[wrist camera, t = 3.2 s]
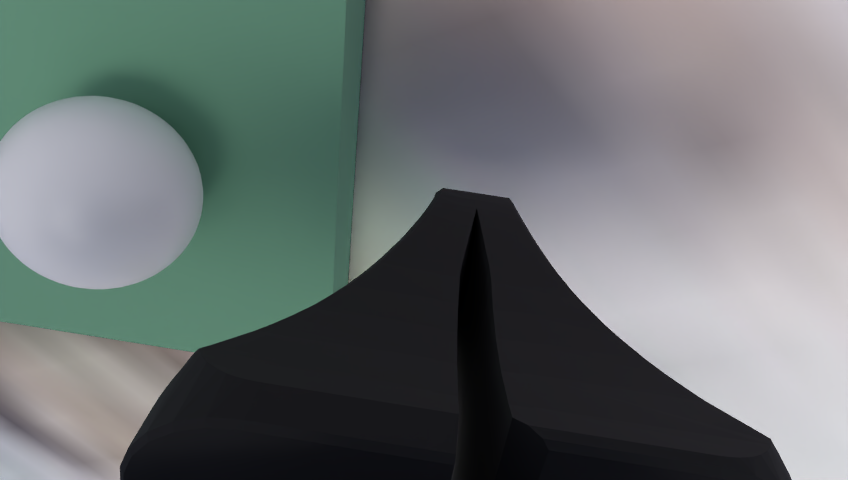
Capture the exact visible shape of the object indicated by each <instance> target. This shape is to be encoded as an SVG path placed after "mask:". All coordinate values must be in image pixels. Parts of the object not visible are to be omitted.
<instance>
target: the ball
mask: <svg viewBox="0 0 848 480" xmlns="http://www.w3.org/2000/svg"><path fill="white" fill-rule="evenodd" d="M202 206H203V186H202V179H201V174H200V171H199V167H198V164H197V162H196V160H195V158H194V156H193V154H192V152H191V150H190V149H189V147H188V145H187V144H186V143H185V141H184V140H183V138H182V137H181V136H180V135H179V134H178V133H177V132H176V130H175V129H174V128H172V127H171V126H170V125H169V124H168V123H167V122H166V121H164V120H163V119H161V118H160V117H159V116H157V115H156V114H154V113H152V112H150V111H149V110H147V109H145V108H143V107H141V106H139V105H136V104H134V103H131V102H128V101H125V100H120V99H115V98H111V97H104V96H76V97H71V98H66V99H61V100H57V101H54V102H51V103H49V104H46V105H44V106H42V107H39V108H37V109H36V110H34V111H32V112H30V113H29V114H27V115H26V116H24V117H23V118H22V119H20V120H19V121H18V122H17V123H16V124H15V125H13V126H12V127H11V129H10V130H9V131H8V132H7V133H6V134H5V136H4V137H3V138H2V140H1V141H0V238H1V240H2V241H3V243H4V244H5V245H6V247H7V248H8V249H9V250H10V252H11V253H12V254H13V255H14V256H15V257H16V258H17V259H18V260H20V261H21V262H22V263H23V264H24V265H26V266H27V267H29V268H30V269H31V270H33V271H35V272H36V273H38V274H40V275H42V276H44V277H46V278H48V279H50V280H53V281H55V282H58V283H61V284H64V285H67V286H72V287H77V288H85V289H112V288H120V287H124V286H128V285H132V284H135V283H138V282H141V281H143V280H146V279H148V278H150V277H152V276H154V275H156V274H157V273H159V272H160V271H162V270H163V269H165V268H166V267H167V266H169V265H170V264H171V263H172V262H173V261H175V260H176V259H177V258H178V257H179V255H180V254H181V253H182V252H183V251H184V250H185V248H186V247H187V246H188V244H189V242H190V241H191V239H192V237H193V235H194V234H195V232H196V229H197V226H198V224H199V221H200V217H201V213H202Z"/></svg>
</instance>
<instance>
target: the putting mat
mask: <svg viewBox="0 0 848 480" xmlns="http://www.w3.org/2000/svg"><path fill="white" fill-rule="evenodd" d="M364 16H365V0H0V141H1V140H2V138H3V137H4V136H5V134H6V133H7V132H8V131H9V130H10V129H11V127H12V126H13V125H15V124H16V123H17V122H18V121H19V120H20V119H22V118H23V117H24V116H26V115H27V114H29V113H30V112H32V111H34V110H36V109H37V108H39V107H42V106H44V105H46V104H49V103H51V102H54V101H57V100H61V99H66V98H71V97H76V96H104V97H111V98H115V99H120V100H125V101H128V102H131V103H134V104H136V105H139V106H141V107H143V108H145V109H147V110H149V111H150V112H152V113H154V114H156V115H157V116H159V117H160V118H161V119H163V120H164V121H166V122H167V123H168V124H169V125H170V126H171V127H172V128H174V129H175V130H176V132H177V133H178V134H179V135H180V136H181V137H182V138H183V140H184V141H185V143H186V144H187V145H188V147H189V149H190V150H191V152H192V154H193V156H194V158H195V160H196V162H197V164H198V167H199V171H200V174H201V179H202V186H203V206H202V213H201V217H200V221H199V224H198V226H197V229H196V232H195V234H194V235H193V237H192V239H191V241H190V242H189V244H188V246H187V247H186V248H185V250H184V251H183V252H182V253H181V254H180V255H179V257H178V258H177V259H176V260H175V261H173V262H172V263H171V264H170V265H169V266H167V267H166V268H165V269H163V270H162V271H160V272H159V273H157V274H156V275H154V276H152V277H150V278H148V279H146V280H143V281H141V282H138V283H135V284H132V285H128V286H124V287H120V288H112V289H85V288H77V287H72V286H67V285H64V284H61V283H58V282H55V281H53V280H50V279H48V278H46V277H44V276H42V275H40V274H38V273H36V272H35V271H33V270H31V269H30V268H29V267H27V266H26V265H24V264H23V263H22V262H21V261H20V260H18V259H17V258H16V257H15V256H14V255H13V254H12V253H11V252H10V250H9V249H8V248H7V247H6V245H5V244H4V243H3V241H2V240H1V238H0V321H1V322H8V323H14V324H20V325H27V326H33V327H39V328H45V329H52V330H58V331H64V332H70V333H77V334H83V335H89V336H95V337H102V338H108V339H114V340H121V341H127V342H133V343H139V344H146V345H152V346H158V347H164V348H171V349H177V350H183V351H190V352H195V351H196V350H197V349H199V348H202V347H206V346H209V345H213V344H216V343H219V342H222V341H225V340H228V339H231V338H234V337H237V336H240V335H243V334H246V333H249V332H252V331H255V330H258V329H260V328H263V327H266V326H268V325H271V324H273V323H275V322H278V321H280V320H282V319H285V318H287V317H289V316H292V315H294V314H296V313H298V312H300V311H302V310H304V309H306V308H308V307H310V306H312V305H314V304H316V303H318V302H320V301H321V300H323V299H325V298H326V297H328V296H330V295H331V294H333V293H334V292H336V291H338V290H339V289H341V288H342V287H344V286H346V285H347V284H348V274H349V258H350V242H351V226H352V209H353V193H354V177H355V161H356V145H357V129H358V113H359V97H360V81H361V65H362V48H363V32H364Z"/></svg>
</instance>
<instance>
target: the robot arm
mask: <svg viewBox="0 0 848 480" xmlns="http://www.w3.org/2000/svg"><path fill="white" fill-rule="evenodd" d="M120 480H792V479H791V477H790V475H789V473H788V471H787V469H786V467H785V465H784V463H783V461H782V459H781V457H780V455H779V453H778V452H777V450H776V448H775V446H774V444H773V443H772V441H771V439H770V438H768V437H766V436H765V435H763V434H761V433H759V432H758V431H756V430H754V429H753V428H751V427H749V426H747V425H746V424H744V423H742V422H740V421H739V420H737V419H735V418H733V417H732V416H730V415H728V414H727V413H725V412H723V411H721V410H720V409H718V408H716V407H714V406H713V405H711V404H709V403H708V402H706V401H704V400H703V399H701V398H700V397H698V396H697V395H695V394H694V393H692V392H691V391H689V390H688V389H686V388H685V387H683V386H682V385H680V384H679V383H677V382H676V381H674V380H673V379H672V378H670V377H669V376H667V375H666V374H664V373H663V372H662V371H660V370H659V369H658V368H656V367H655V366H654V365H652V364H651V363H650V362H648V361H647V360H646V359H644V358H643V357H642V356H641V355H639V354H638V353H637V352H636V351H635V350H633V349H632V348H631V347H630V346H628V345H627V344H626V343H625V342H624V341H622V340H621V339H620V338H619V337H618V336H617V335H615V334H614V333H613V332H612V331H611V330H610V329H609V328H608V327H607V326H605V325H604V324H603V323H602V322H601V321H600V320H599V319H598V318H597V317H596V316H595V315H594V314H593V313H592V312H591V311H590V310H589V309H588V308H587V307H586V306H585V305H584V304H583V303H582V302H581V301H580V299H579V298H578V297H577V296H576V295H575V294H574V293H573V292H572V290H571V289H570V288H569V287H568V286H567V284H566V283H565V282H564V281H563V280H562V278H561V277H560V276H559V275H558V273H557V272H556V271H555V269H554V268H553V267H552V265H551V264H550V262H549V261H548V260H547V258H546V257H545V255H544V254H543V252H542V251H541V249H540V248H539V246H538V245H537V243H536V242H535V240H534V239H533V237H532V235H531V234H530V232H529V230H528V229H527V227H526V225H525V224H524V222H523V220H522V219H521V217H520V215H519V213H518V211H517V210H516V208H515V206H514V204H513V203H512V201H511V200H510V199H509V198H504V197H498V196H491V195H485V194H478V193H472V192H465V191H458V190H452V189H445V188H443V189H441V190H439V191H438V192H436V194H435V197H434V198H433V200H432V202H431V203H430V205H429V206H428V208H427V209H426V210H425V212H424V213H423V214H422V216H421V217H420V218H419V219H418V221H417V222H416V223H415V224H414V225H413V226H412V227H411V229H410V230H409V231H408V232H407V233H406V234H405V235H404V236H403V237H402V238H401V240H400V241H399V242H397V243H396V244H395V245H394V246H393V247H392V248H391V249H390V250H389V251H388V252H387V253H386V254H385V255H384V256H383V257H382V258H380V259H379V260H378V261H377V262H376V263H375V264H373V265H372V266H371V267H370V268H369V269H367V270H366V271H365V272H363V273H362V274H361V275H359V276H358V277H357V278H355V279H354V280H353V281H351V282H350V283H348V284H347V285H346V286H344V287H342V288H341V289H339V290H338V291H336V292H334V293H333V294H331V295H330V296H328V297H326V298H325V299H323V300H321V301H320V302H318V303H316V304H314V305H312V306H310V307H308V308H306V309H304V310H302V311H300V312H298V313H296V314H294V315H292V316H289V317H287V318H285V319H282V320H280V321H278V322H275V323H273V324H271V325H268V326H266V327H263V328H260V329H258V330H255V331H252V332H249V333H246V334H243V335H240V336H237V337H234V338H231V339H228V340H225V341H222V342H219V343H216V344H213V345H209V346H206V347H202V348H199V349H197V350H196V351H195V353H194V354H193V355H192V356H191V358H190V359H189V360H188V361H187V363H186V364H185V365H184V366H183V368H182V369H181V370H180V371H179V372H178V374H177V375H176V376H175V377H174V378H173V380H172V381H171V382H170V384H169V385H168V386H167V387H166V389H165V390H164V391H163V393H162V394H161V395H160V397H159V398H158V400H157V402H156V403H155V405H154V406H153V408H152V410H151V411H150V413H149V414H148V416H147V418H146V419H145V421H144V423H143V424H142V426H141V428H140V429H139V431H138V433H137V434H136V436H135V438H134V439H133V441H132V443H131V444H130V446H129V448H128V450H127V452H126V454H125V456H124V459H123V461H122V463H121V465H120Z"/></svg>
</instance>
